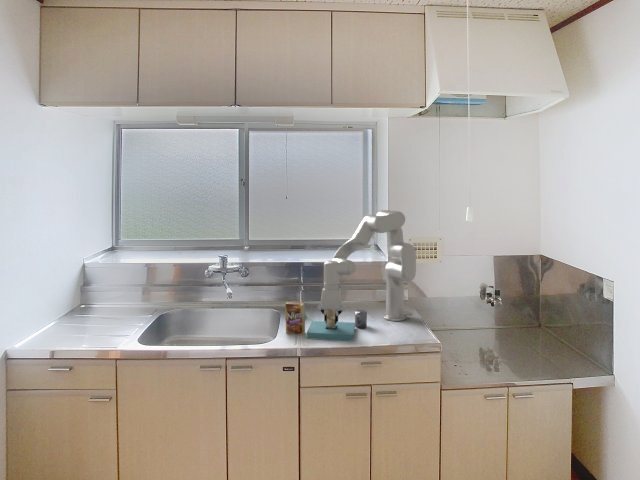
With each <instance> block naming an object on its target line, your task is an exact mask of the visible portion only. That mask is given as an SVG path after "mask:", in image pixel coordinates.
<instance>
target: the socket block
mask: <svg viewBox="0 0 640 480" xmlns="http://www.w3.org/2000/svg"><path fill="white" fill-rule="evenodd" d="M355 328H356V327H355V322H347V321H346V322H345V321H338V322H337V323H336V325H335V328H331V327H327V323H326V321H324V320H311V322H310V325H309V326H308V329H307V331H306V339H310V340H325V341H326V340H327V341H344V342H345V341H347V342H354V337H355Z"/></svg>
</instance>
